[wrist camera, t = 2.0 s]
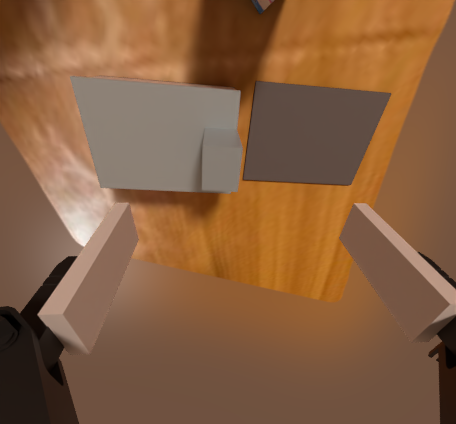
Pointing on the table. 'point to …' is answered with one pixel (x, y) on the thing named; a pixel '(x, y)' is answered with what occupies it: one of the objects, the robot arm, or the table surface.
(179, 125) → the lid
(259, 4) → the ink box
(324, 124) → the mat
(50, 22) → the table surface
